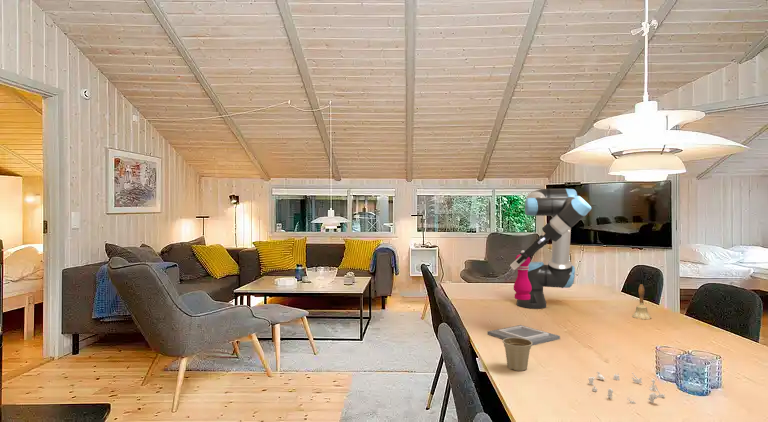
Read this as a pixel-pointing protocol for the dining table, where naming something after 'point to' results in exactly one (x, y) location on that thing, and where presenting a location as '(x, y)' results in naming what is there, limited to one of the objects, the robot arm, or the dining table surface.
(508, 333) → the plate
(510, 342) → the flower pot
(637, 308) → the hand bell
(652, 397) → the game piece set
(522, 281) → the pepper mill
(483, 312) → the dining table surface
